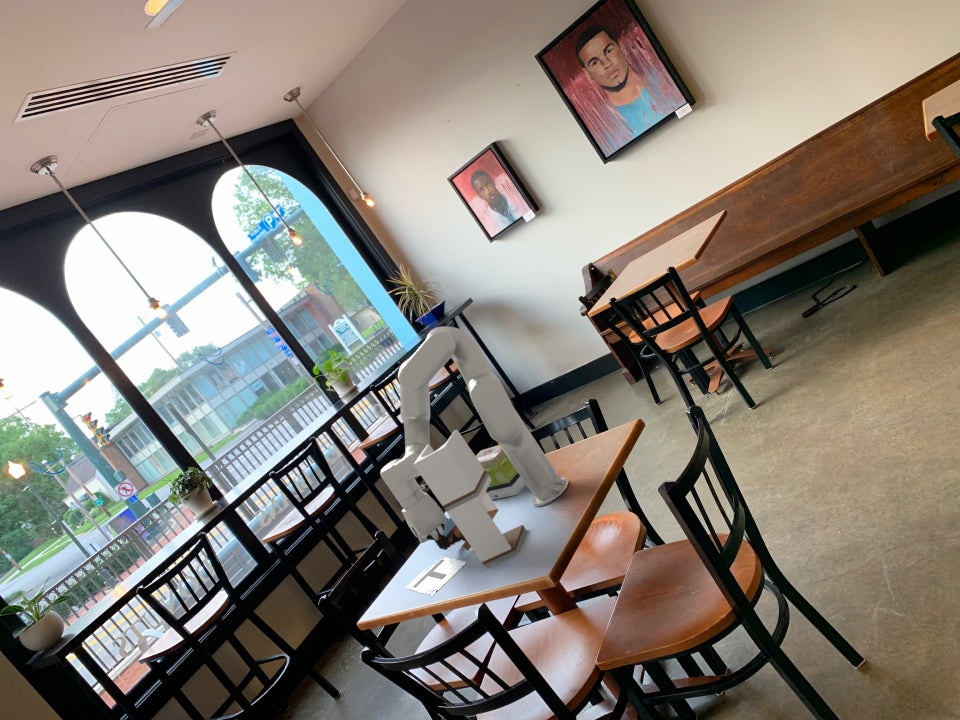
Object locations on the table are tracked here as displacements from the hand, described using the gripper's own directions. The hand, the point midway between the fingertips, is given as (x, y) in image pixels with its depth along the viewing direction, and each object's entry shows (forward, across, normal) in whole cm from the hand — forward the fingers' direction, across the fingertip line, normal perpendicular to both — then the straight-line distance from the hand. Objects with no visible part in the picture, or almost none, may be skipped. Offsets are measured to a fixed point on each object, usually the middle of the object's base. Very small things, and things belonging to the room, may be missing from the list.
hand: (446, 547), depth 217 cm
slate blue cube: (+4, -9, -16) cm, 18 cm away
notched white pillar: (+4, -7, +23) cm, 25 cm away
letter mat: (+4, +7, 0) cm, 8 cm away
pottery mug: (+4, -7, +2) cm, 8 cm away
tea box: (+4, -33, -10) cm, 34 cm away
